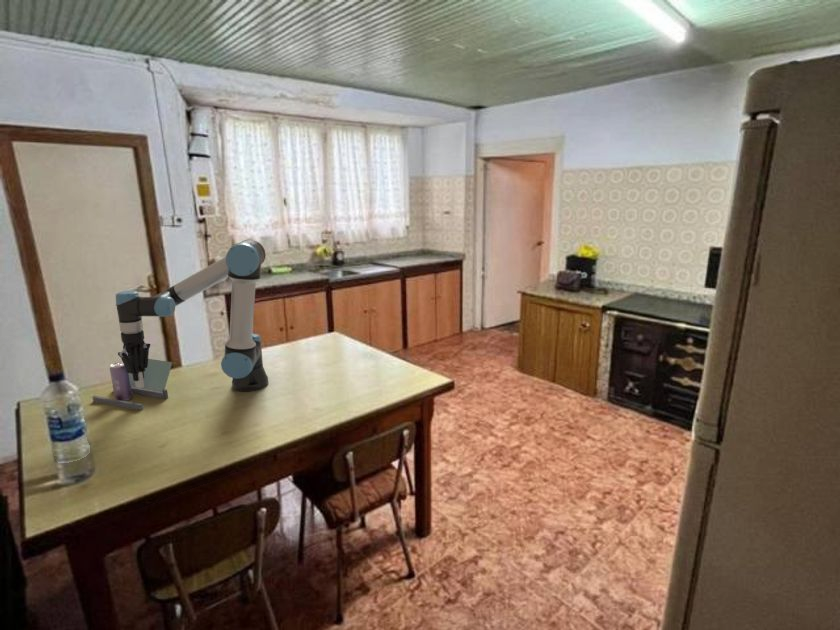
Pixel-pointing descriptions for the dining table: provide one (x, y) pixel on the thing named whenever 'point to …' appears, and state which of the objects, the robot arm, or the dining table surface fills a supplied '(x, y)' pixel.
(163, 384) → the cover
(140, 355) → the robot arm
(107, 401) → the plastic rails
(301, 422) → the dining table surface
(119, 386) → the beverage can
